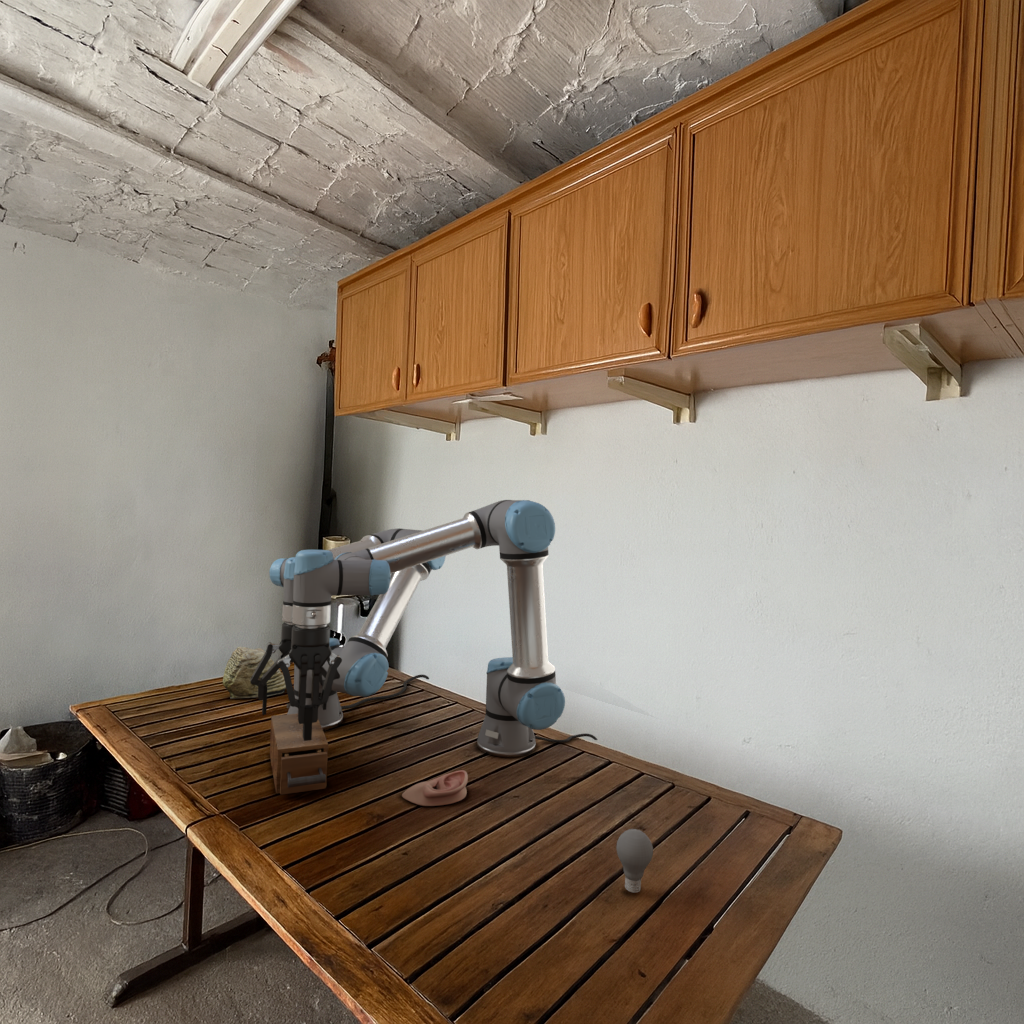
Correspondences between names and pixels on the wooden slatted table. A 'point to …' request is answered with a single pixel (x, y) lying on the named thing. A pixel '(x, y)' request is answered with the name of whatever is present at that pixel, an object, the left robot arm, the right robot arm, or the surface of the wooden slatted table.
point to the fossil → (249, 674)
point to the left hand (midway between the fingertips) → (294, 710)
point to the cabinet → (292, 741)
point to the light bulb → (634, 857)
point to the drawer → (303, 771)
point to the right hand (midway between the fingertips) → (306, 738)
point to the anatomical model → (439, 790)
